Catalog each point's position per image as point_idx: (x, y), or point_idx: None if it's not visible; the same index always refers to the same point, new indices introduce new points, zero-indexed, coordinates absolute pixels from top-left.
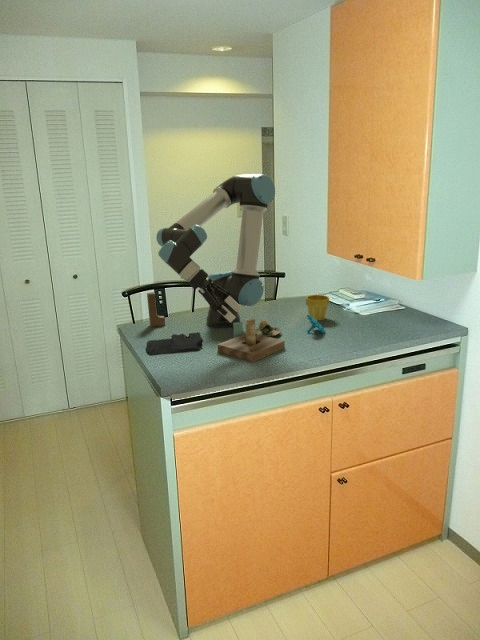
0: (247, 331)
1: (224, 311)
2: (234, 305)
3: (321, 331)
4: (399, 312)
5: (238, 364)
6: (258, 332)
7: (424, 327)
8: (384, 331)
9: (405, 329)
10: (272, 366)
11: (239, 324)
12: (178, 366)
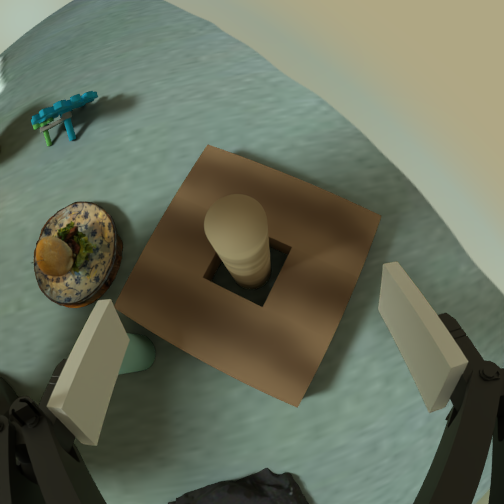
0: (266, 254)
1: (462, 331)
2: (106, 353)
3: (92, 99)
4: (14, 52)
5: None
6: (66, 287)
7: (94, 3)
8: (99, 28)
9: (96, 13)
10: (386, 164)
11: None
12: None
